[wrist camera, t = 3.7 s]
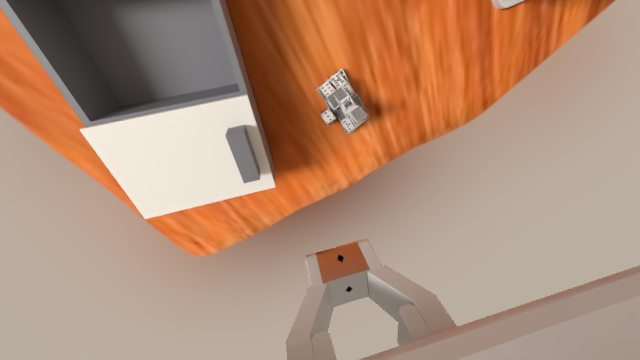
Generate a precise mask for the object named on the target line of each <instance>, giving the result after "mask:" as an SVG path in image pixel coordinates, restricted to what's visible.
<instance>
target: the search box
mask: <svg viewBox="0 0 640 360" xmlns="http://www.w3.org/2000/svg"><path fill="white" fill-rule="evenodd" d="M0 8H1V9H2V11H3V12H4V14H5V15H6V16H7V18H8V19H9V21H10V22H11V23H12V25H13V26H14V28H15V29H16V30H17V32H18V33H19V35H20V36H21V37H22V39H23V40H24V42H25V43H26V44H27V46H28V47H29V49H30V50H31V51H32V53H33V54H34V56H35V57H36V58H37V60H38V61H39V62H40V64H41V65H42V67H43V68H44V69H45V71H46V72H47V74H48V75H49V76H50V78H51V79H52V81H53V82H54V83H55V85H56V86H57V88H58V89H59V90H60V92H61V93H62V95H63V96H64V97H65V99H66V100H67V102H68V103H69V104H70V106H71V107H72V109H73V110H74V111H75V113H76V114H77V116H78V117H79V118H80V120H81V121H82V123H83V124H84V125H85V127H89V126H94V125H99V124H104V123H109V122H114V121H119V120H123V119H128V118H133V117H138V116H143V115H148V114H153V113H158V112H163V111H168V110H172V109H177V108H182V107H187V106H192V105H197V104H202V103H207V102H212V101H217V100H221V99H226V98H231V97H236V96H241V95H246V94H248V97H249V100H250V104H251V107H252V110H253V113H254V117H255V120H256V123H257V126H258V130H259V133H260V136H261V140H262V143H263V146H264V149H265V153H266V156H267V159H268V162H269V166H270V169H271V172H272V175H273V179H274V182H275V175H274V165H273V159H272V155H271V152H270V148H269V145H268V142H267V138H266V135H265V131H264V128H263V125H262V121H261V118H260V114H259V111H258V108H257V104H256V101H255V97H254V94H253V91H252V87H251V84H250V80H249V77H248V74H247V70H246V67H245V63H244V60H243V57H242V53H241V50H240V46H239V43H238V40H237V36H236V33H235V29H234V26H233V23H232V19H231V16H230V12H229V9H228V6H227V2H226V0H0Z"/></svg>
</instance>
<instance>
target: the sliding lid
mask: <svg viewBox="0 0 640 360" xmlns="http://www.w3.org/2000/svg"><path fill="white" fill-rule="evenodd" d="M80 131H81V133H82V134H83V135H84V137H85V138H86V139H87V141H88V142H89V143H90V145H91V146H92V147H93V149H94V150H95V152H96V153H97V154H98V156H99V157H100V158H101V160H102V161H103V162H104V164H105V165H106V167H107V168H108V169H109V171H110V172H111V173H112V175H113V176H114V177H115V179H116V180H117V181H118V183H119V184H120V186H121V187H122V188H123V190H124V191H125V192H126V194H127V195H128V196H129V198H130V199H131V201H132V202H133V203H134V205H135V206H136V207H137V209H138V210H139V211H140V213H141V214H142V215H143V217H144V218H145V219H148V218H152V217H156V216H160V215H164V214H168V213H172V212H176V211H180V210H184V209H189V208H193V207H197V206H201V205H205V204H209V203H213V202H217V201H221V200H225V199H229V198H233V197H238V196H242V195H246V194H250V193H254V192H258V191H262V190H266V189H270V188H274V187H276V186H275V182H274V179H273V175H272V172H271V169H270V166H269V162H268V159H267V156H266V153H265V149H264V146H263V143H262V140H261V136H260V133H259V130H258V126H257V123H256V120H255V117H254V113H253V110H252V107H251V104H250V100H249V97H248V94H246V95H241V96H236V97H231V98H226V99H221V100H217V101H212V102H207V103H202V104H197V105H192V106H187V107H182V108H177V109H172V110H168V111H163V112H158V113H153V114H148V115H143V116H138V117H133V118H128V119H123V120H119V121H114V122H109V123H104V124H99V125H94V126H89V127H84V128H82V129H80Z"/></svg>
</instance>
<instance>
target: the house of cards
mask: <svg viewBox="0 0 640 360" xmlns="http://www.w3.org/2000/svg"><path fill="white" fill-rule="evenodd" d="M316 90H318V91H319V92H320V94H321V96H322V97H323V99H324V100H325V103H326V104H327V106H328V107H329V108H326V109H325V110H324V111H322V112H321V113H319V114H320V115H321V116H322V118H323V119H324V121H325V122H326V123H327V126H329V125H330V124H332V123H333V122H334V121H336V117H335V116H334V115H333V113H335V115H336V116H337V118H338V119H339V120H340V121H339V122H340V123H341V125H342V126H343V128H344V130H345V131H344V132H345V133H346V134H350V133H351V132H353V131H354V130H355V129H357V128H358V127H359V125H360V124H362V123H363V122H365V120H367V119H368V118H370V117H369V115H368V113H367V112H366V110H365V108H364V107H363V106H364V105H363V103H362V101H361V99H360V98H359V96H358V94H356V93H355V92H354V90H353V88H352V87H351V85H350V82H349V80H348V78H347V76H346V74H345V72H344V71H343V69H340V70H339V71H338V72H336V73H335V74H334V75H332V76H331V77H329V79H327V81H326V82H325V83H323V84H322V85H321V86H319V87H318V88H317V89H316Z"/></svg>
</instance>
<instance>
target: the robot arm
mask: <svg viewBox="0 0 640 360" xmlns="http://www.w3.org/2000/svg"><path fill="white" fill-rule="evenodd" d="M491 1H492V4H493V6H494V7H495V8H496V9H498V10H501V9H505V8H508V7H511V6H513V5H515V4H518V3H520V2H522V1H525V0H491ZM316 256H317V257H316ZM305 261H306V265H307V271H308V275H309V280H310V285H311V287H310V288H308V289H307V291H306V294H305V296H304V299H303V301H302V304H301V306H300V309H299V311H298V314H297V316H296V318H295V321H294V323H293V326H292V328H291V331H290V333H289V336H288V338H287V341H286V348H287V360H336V356H335V352H334V349H333V345H332V341H331V338H330V334H329V333H328V328H329V324H330V320H331V316H332V312H333V307H336V306H338V305H341V304H344V303H347V302H350V301H354V300H358V299H361V298H365V297H368V296H369V298H371V299H372V300H373V301H374V302H375V303H376V304H378V305H379V306H380V307H381V308H382V309H383V310H385V311H386V312H387V313H388V314H389V315H391V316H392V317H393V318H394V319H395V320H396V321H398V339H397V341H398V344H399V346H398V347H395V348H392V349H389V350H387V351H383V352H380V353H377V354H375V355H371V356H369V357H365V358H362V359H360V360H640V266H637V267H634V268H631V269H628V270H625V271H622V272H619V273H616V274H613V275H610V276H607V277H604V278H601V279H598V280H595V281H592V282H589V283H586V284H583V285H580V286H577V287H574V288H571V289H568V290H565V291H562V292H559V293H556V294H553V295H550V296H547V297H544V298H541V299H538V300H536V301H533V302H529V303H526V304H524V305H520V306H517V307H515V308H512V309H509V310H506V311H503V312H500V313H497V314H494V315H491V316H488V317H485V318H482V319H479V320H476V321H473V322H470V323H467V324H464V325H461V326H458V327H457V326H456V324H455V323H454V321H453V320H452V319H451V317H450V316H449V314H448V313H447V312H446V310H445V308H444V307H443V306H442V304H441V303H440V301H439V300H438V298H437V297H436V295H434V294H433V293H431V292H429V291H428V290H426V289H424V288H423V287H421V286H419V285H418V284H416V283H414V282H413V281H411V280H409V279H408V278H406V277H404V276H403V275H401V274H399V273H398V272H396V271H394V270H393V269H391V268H389V267H387V266H386V265H385V266H382V264H381V263H380V261H379V259H378V257H377V255H376V254H375V252H374V250H373V248H372V246H371V244H370V242H369V241H368V239H364V240H360V241H357V242H352V243H349V244H346V245H342V246H339V247H336V248H333V249H329V250H325V251H321V252H317V253H314V254H310V255H307V256H305Z"/></svg>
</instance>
